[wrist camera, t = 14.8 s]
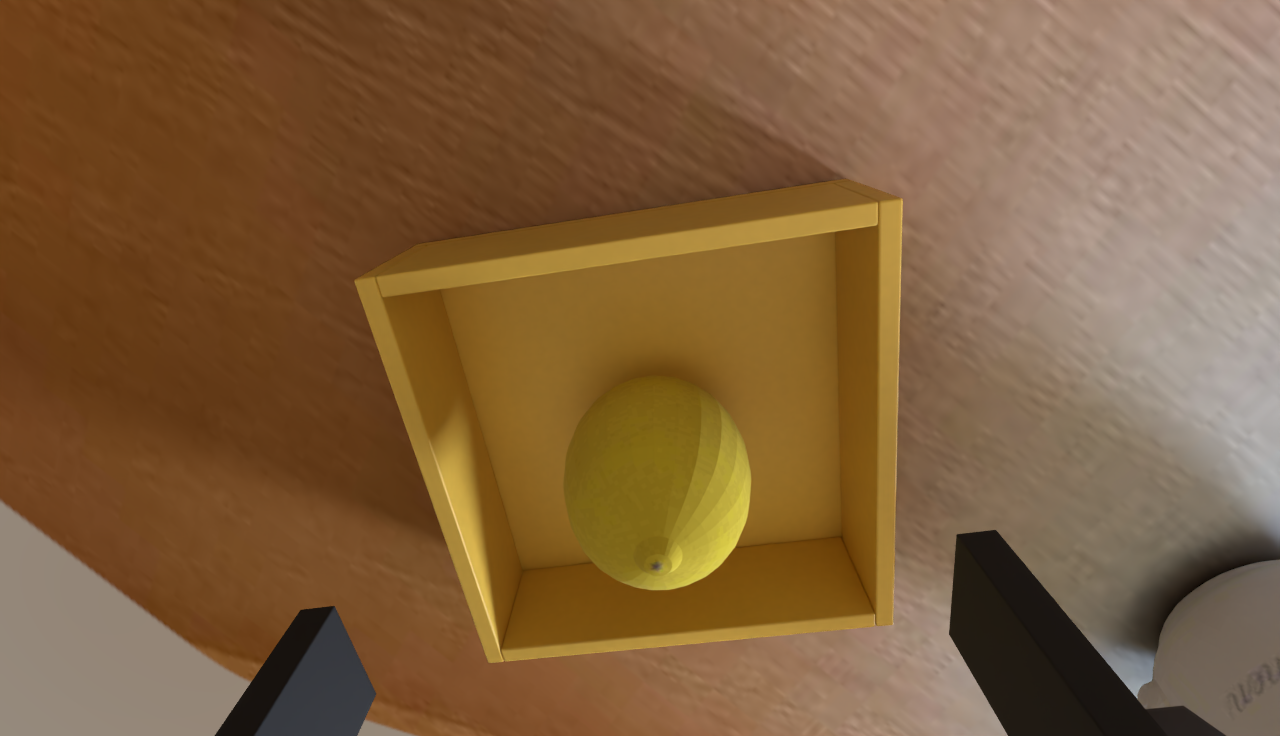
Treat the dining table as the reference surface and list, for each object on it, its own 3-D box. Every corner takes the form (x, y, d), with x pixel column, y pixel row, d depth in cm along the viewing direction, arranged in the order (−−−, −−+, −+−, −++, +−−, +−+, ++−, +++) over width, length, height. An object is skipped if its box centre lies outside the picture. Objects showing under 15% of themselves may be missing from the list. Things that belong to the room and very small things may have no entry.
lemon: (661, 308, 20) (667, 423, 13) (763, 417, 22) (821, 575, 14) (547, 406, 22) (494, 560, 14) (650, 501, 23) (649, 683, 16)
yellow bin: (515, 572, 25) (487, 663, 21) (416, 243, 20) (352, 279, 16) (852, 536, 24) (894, 625, 20) (847, 178, 19) (903, 197, 15)
